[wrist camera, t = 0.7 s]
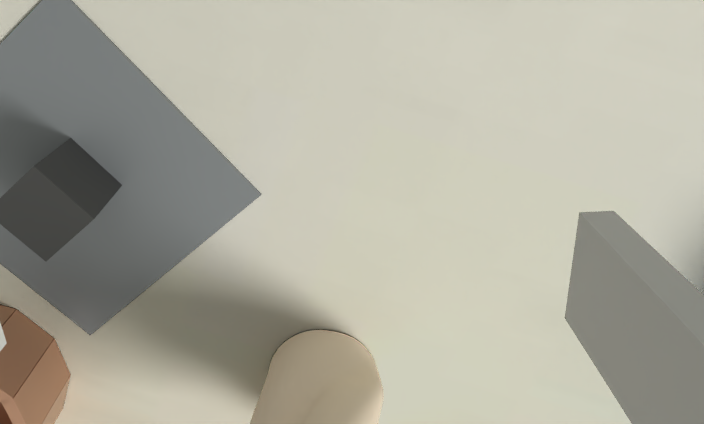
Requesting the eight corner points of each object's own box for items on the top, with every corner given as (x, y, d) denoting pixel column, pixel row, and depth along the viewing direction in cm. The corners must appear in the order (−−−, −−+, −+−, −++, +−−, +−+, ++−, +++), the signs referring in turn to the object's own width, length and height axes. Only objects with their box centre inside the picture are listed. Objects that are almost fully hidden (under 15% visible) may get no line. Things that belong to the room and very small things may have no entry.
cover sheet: (-111, 163, 37) (-184, 200, 32) (61, -16, 33) (12, -7, 28) (94, 328, 42) (61, 383, 37) (262, 190, 39) (252, 229, 33)
